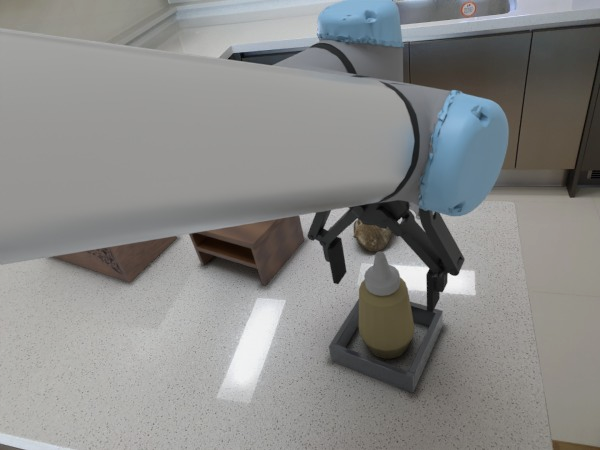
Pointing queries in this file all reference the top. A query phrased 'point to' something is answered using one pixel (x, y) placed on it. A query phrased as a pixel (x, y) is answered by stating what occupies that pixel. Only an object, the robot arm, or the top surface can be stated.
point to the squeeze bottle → (385, 310)
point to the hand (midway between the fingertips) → (384, 290)
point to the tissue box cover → (120, 258)
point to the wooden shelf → (252, 244)
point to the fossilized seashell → (371, 236)
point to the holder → (382, 369)
